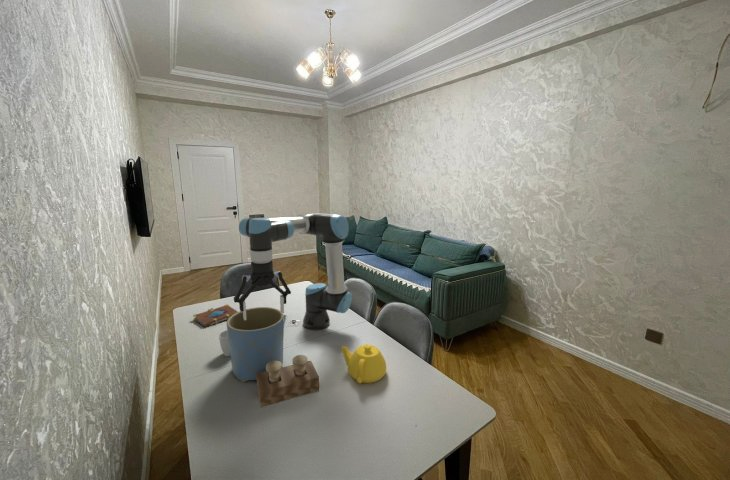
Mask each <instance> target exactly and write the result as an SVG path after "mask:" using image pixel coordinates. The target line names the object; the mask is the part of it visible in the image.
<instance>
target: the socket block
mask: <svg viewBox="0 0 730 480" xmlns="http://www.w3.org/2000/svg"><path fill="white" fill-rule="evenodd" d="M256 376H257V380H256V388H257V394H258V398H259V405H260V408H264V407H267V406H271V405H274V404H277V403H280V402H283V401H284V402H285V401H288V400H290V399H295V398H297V397H298V398H299V397H302V396H305V395H308V394H312V393H315V392H319V391H320V376H319V374H318V372H317V370H316V367H315V365H314V364H313V362H312V360H307V363H306V364H305V375H301V376H297V377H296V376H295V365H293V364H291V365H287V366H282V368H281V370H280V381H278V382H274V383H270V384H269V372H267V371H265V372H261V373H257V374H256Z"/></svg>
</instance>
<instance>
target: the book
mask: <svg viewBox="0 0 730 480" xmlns="http://www.w3.org/2000/svg"><path fill="white" fill-rule="evenodd" d="M237 312H239V311H238V310H235V309H234V308H233V307H232V306H230V305H229V304H224V305H222V306H219V307H216V308H213V307H211V308H209V309H207V310H206V311H203V312H200V313H195V314H192V317H194V318H193V321H196V322H197V323H198V324H199V325H201V326H202V327H203V328H208V327H211V326H214V325H218V324H220V323H222V322H225V321H227V320H228V318H229V317H231V316H232V315H233V314H235V313H237Z"/></svg>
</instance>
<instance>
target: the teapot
mask: <svg viewBox="0 0 730 480" xmlns="http://www.w3.org/2000/svg"><path fill="white" fill-rule="evenodd" d="M341 351H342V354H343V357H344V361H345V365H346V366H347V371H348V373H349V376H351V378H352V379H354V380H355V381H356V382H357V383H358V384H373V383H376V382H378V381H379V380H381V379H382V378H384V376H385V374H386V372H387V364H386V359H385V357H384V355H383V354H382V351H381V350H380V349H379V348H378V347H377V346H375V345H372V344H361V345H359V346H358V347H357V348H355V350H354V351H353V353H351V351H350V349H349V348H348V347H347V346H345V345H342V346H341ZM362 382H363V383H362ZM372 382H373V383H372Z"/></svg>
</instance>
